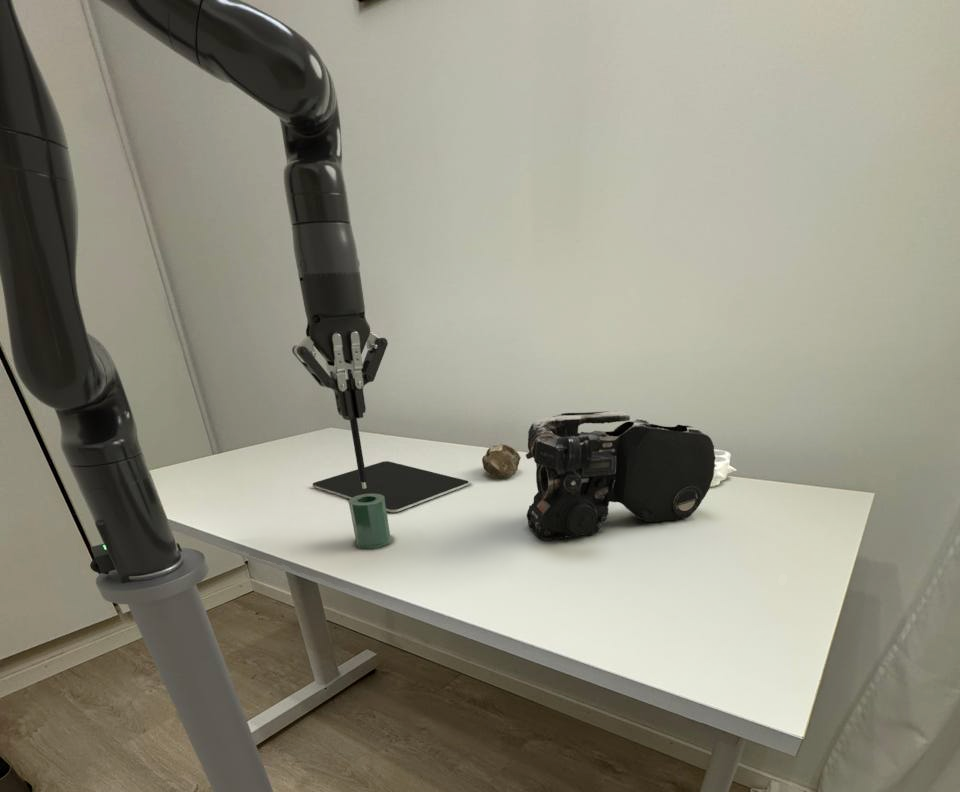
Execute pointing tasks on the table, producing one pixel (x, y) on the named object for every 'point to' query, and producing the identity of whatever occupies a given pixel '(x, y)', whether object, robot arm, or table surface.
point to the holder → (370, 520)
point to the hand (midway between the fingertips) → (352, 417)
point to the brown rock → (501, 461)
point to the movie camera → (614, 472)
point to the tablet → (393, 484)
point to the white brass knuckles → (721, 466)
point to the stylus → (356, 438)
